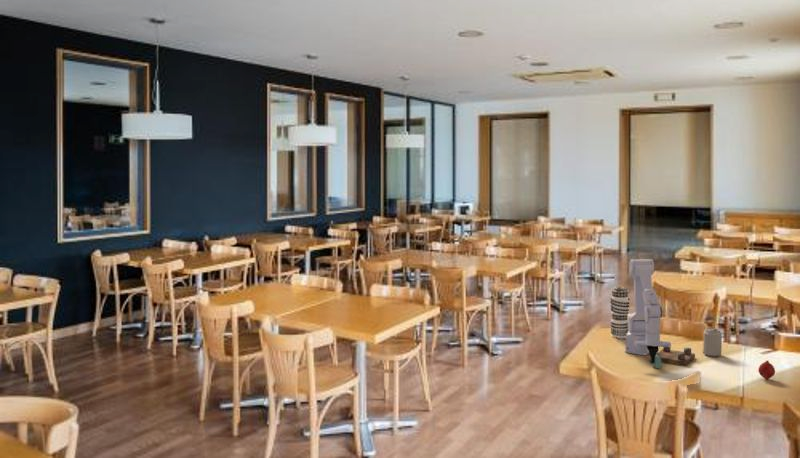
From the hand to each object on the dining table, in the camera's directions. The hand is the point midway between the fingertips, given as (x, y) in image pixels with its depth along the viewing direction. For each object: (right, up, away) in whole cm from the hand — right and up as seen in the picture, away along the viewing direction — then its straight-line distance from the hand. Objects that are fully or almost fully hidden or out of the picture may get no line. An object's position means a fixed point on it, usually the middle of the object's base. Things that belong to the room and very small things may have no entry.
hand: (652, 362), depth 288 cm
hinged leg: (+2, -1, +2) cm, 3 cm away
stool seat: (+13, 0, +9) cm, 16 cm away
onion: (+38, -3, -20) cm, 43 cm away
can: (+32, +1, +14) cm, 35 cm away
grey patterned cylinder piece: (+2, +3, +50) cm, 50 cm away
